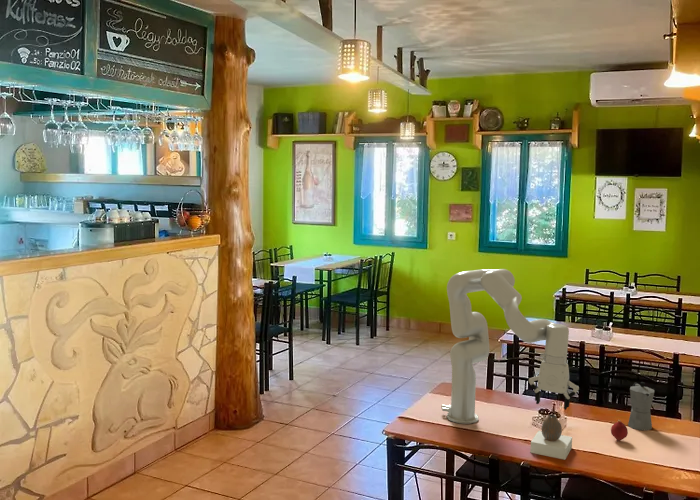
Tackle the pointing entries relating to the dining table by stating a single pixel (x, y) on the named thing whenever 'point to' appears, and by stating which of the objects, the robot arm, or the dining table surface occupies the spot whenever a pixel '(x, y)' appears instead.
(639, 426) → the coffeepot
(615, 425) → the onion
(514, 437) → the dining table surface
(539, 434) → the grey block
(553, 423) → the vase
